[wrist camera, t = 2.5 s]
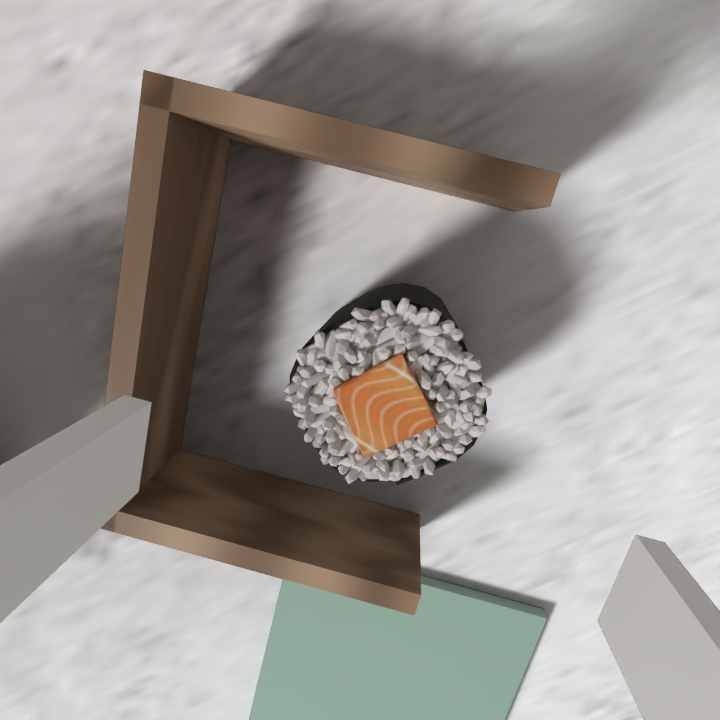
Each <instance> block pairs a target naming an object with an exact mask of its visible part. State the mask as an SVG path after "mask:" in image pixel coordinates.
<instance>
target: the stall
mask: <svg viewBox="0 0 720 720" xmlns="http://www.w3.org/2000/svg"><path fill="white" fill-rule="evenodd" d="M231 140H233V141H237V142H241V143H245V144H249V145H253V146H257V147H261V148H265V149H269V150H273V151H277V152H281V153H285V154H289V155H293V156H297V157H301V158H305V159H309V160H312V161H316V162H320V163H324V164H328V165H332V166H336V167H340V168H344V169H348V170H352V171H356V172H360V173H364V174H368V175H372V176H376V177H380V178H384V179H388V180H392V181H396V182H400V183H404V184H408V185H412V186H416V187H420V188H424V189H427V190H431V191H435V192H439V193H443V194H447V195H451V196H455V197H459V198H463V199H467V200H471V201H475V202H479V203H483V204H487V205H491V206H495V207H499V208H503V209H507V210H511V211H522V210H529V209H537V208H544V207H550V205H551V202H552V199H553V196H554V193H555V190H556V187H557V184H558V181H559V178H560V175H561V174H559V173H555V172H551V171H547V170H543V169H539V168H535V167H531V166H527V165H523V164H519V163H515V162H511V161H507V160H503V159H499V158H495V157H491V156H487V155H483V154H479V153H475V152H471V151H467V150H463V149H459V148H455V147H451V146H447V145H443V144H439V143H435V142H431V141H427V140H423V139H419V138H415V137H411V136H407V135H403V134H398V133H394V132H390V131H386V130H382V129H378V128H374V127H370V126H366V125H362V124H358V123H354V122H350V121H346V120H342V119H338V118H334V117H330V116H326V115H322V114H318V113H314V112H310V111H306V110H302V109H298V108H294V107H290V106H286V105H282V104H278V103H274V102H270V101H266V100H262V99H258V98H254V97H250V96H246V95H242V94H238V93H234V92H230V91H226V90H222V89H218V88H214V87H210V86H206V85H202V84H198V83H194V82H190V81H186V80H182V79H178V78H174V77H170V76H166V75H162V74H158V73H154V72H150V71H146V70H144V72H143V80H142V89H141V98H140V106H139V115H138V123H137V132H136V140H135V149H134V158H133V166H132V175H131V183H130V192H129V201H128V209H127V218H126V226H125V235H124V243H123V252H122V261H121V269H120V278H119V286H118V295H117V303H116V312H115V321H114V329H113V338H112V346H111V355H110V364H109V372H108V381H107V389H106V398H105V406H106V405H108V404H109V403H111V402H113V401H115V400H116V399H118V398H120V397H122V396H123V395H127V396H131V397H134V398H138V399H142V400H145V401H149V402H152V404H151V411H150V417H149V424H148V431H147V438H146V445H145V451H144V458H143V465H142V472H141V479H140V486H139V492H138V493H137V494H136V495H135V496H134V497H133V498H132V499H131V500H130V501H128V502H127V503H126V504H125V505H124V506H123V507H122V508H121V509H120V510H119V511H118V512H117V513H116V514H115V515H114V516H113V517H112V518H111V519H109V520H108V521H107V522H106V523H105V524H104V525H103V526H102V527H101V529H105V530H108V531H112V532H116V533H119V534H123V535H126V536H130V537H133V538H137V539H141V540H144V541H148V542H151V543H155V544H159V545H162V546H166V547H169V548H173V549H177V550H180V551H184V552H187V553H191V554H195V555H198V556H202V557H205V558H209V559H213V560H216V561H220V562H223V563H227V564H231V565H234V566H238V567H241V568H245V569H249V570H252V571H256V572H259V573H263V574H266V575H270V576H274V577H277V578H281V579H284V580H288V581H292V582H295V583H299V584H302V585H306V586H310V587H313V588H317V589H320V590H324V591H328V592H331V593H335V594H338V595H342V596H346V597H349V598H353V599H356V600H360V601H364V602H367V603H371V604H374V605H378V606H381V607H385V608H389V609H392V610H396V611H399V612H403V613H407V614H410V615H414V616H415V612H416V609H417V606H418V603H419V600H420V597H421V566H420V526H419V515H418V514H414V513H411V512H407V511H403V510H400V509H396V508H392V507H389V506H385V505H381V504H378V503H374V502H370V501H366V500H363V499H359V498H355V497H352V496H348V495H344V494H341V493H337V492H333V491H330V490H326V489H322V488H319V487H315V486H311V485H308V484H304V483H300V482H297V481H293V480H289V479H286V478H282V477H278V476H275V475H271V474H267V473H264V472H260V471H256V470H253V469H249V468H245V467H242V466H238V465H234V464H230V463H227V462H223V461H219V460H216V459H212V458H208V457H205V456H201V455H197V454H194V453H190V452H186V451H183V450H180V447H181V441H182V435H183V429H184V422H185V416H186V410H187V404H188V398H189V392H190V386H191V380H192V373H193V367H194V361H195V355H196V349H197V343H198V337H199V331H200V324H201V318H202V312H203V306H204V300H205V294H206V288H207V282H208V275H209V269H210V263H211V257H212V251H213V245H214V239H215V233H216V227H217V220H218V214H219V208H220V202H221V196H222V190H223V184H224V178H225V171H226V165H227V159H228V153H229V147H230V141H231Z"/></svg>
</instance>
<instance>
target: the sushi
mask: <svg viewBox="0 0 720 720" xmlns="http://www.w3.org/2000/svg"><path fill="white" fill-rule="evenodd" d="M462 338H463V331H462V330H460V329H458V326H457V325H456V323H455V321H454V320H453V318H452V317H451V315H450V313H449V312H448V310H447V308H446V307H445V305H444V304H443V302H442V300H441V299H440V298H439V297H437V296H436V295H435V294H433V293H432V292H430V291H429V290H427V289H426V288H425V287H420V286H415V285H410V284H405V283H400V284H394V285H387V286H385V287H382V288H379V289H377V290H374V291H372V292H369V293H367V294H366V295H364V296H362V297H360V298H359V299H357V300H355V301H353V302H352V303H350V304H348V305H347V306H345V307H343V308H341V309H340V310H338V311H336V312H335V314H334V315H333V316H332V317H331V318H330V319H329V320H328V321H327V322H326V323H325V324H324V325H323V326H322V327H321V328H320V329H319V330H318V331H317V332H316V333H315V335H314V336H313V337H312V338H311V339H310V340H309V341H308V342H307V343H306V344H305V346H304V347H303V348H302V349H300V350H298V351H297V352H296V354H295V357H296V358H297V359H296V361H295V364H294V366H293V369H292V371H291V374H290V384H288V385H287V387H286V388H285V389H284V390H283V391H285V392H286V393H288V394H286V397H285V401H288V402H291V403H292V407H293V408H294V409H293V412H294V415H295V416H298V418H299V423H298V427H299V428H301V429H303V430H305V431H306V434H305V435H304V441H305V442H311V441H312V444H313V447H315V448H317V450H318V451H319V454H320V455H321V461H322V463H323V465H326V464H329V465H330V466H332V467H333V468H334V469H336V470H337V471H338V472H340V474H345V475H346V476H345V478H346V480H347V482H348V484H350V483H352V482H353V481H355V480H356V479H357V480H362V481H371V482H379V481H396V484H397V485H398V484H401V483H404V482H406V481H409V480H412V479H414V478H415V479H418V478H419V477H420V476H422V475H424V474H428V475H433V472H434V470H435V469H437V468H439V467H442V466H444V465H446V464H448V463H450V462H452V461H456V460H457V459H458V458H459V457H460V456H462V455H463V454H464V453H465V452H466V451H467V450H469V449H470V448H471V447H472V446H473V445H474V444H475V442H476V440H477V438H478V437H480V436H482V435H483V434H485V433H486V429H485V426H483V425H486V424H487V423H488V419H487V417H486V412H487V406H486V397H488V396H490V395H491V389H490V388H488V387H486V386H482V383H481V381H483V380H482V373H481V372H478V371H477V370H479V369H480V368H482V365H481V362H480V360H479V359H473V358H472V357H473V354H471V353H470V352H468V351H467V349H466V346H465V344H464V341H463V339H462Z"/></svg>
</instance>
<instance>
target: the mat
mask: <svg viewBox="0 0 720 720" xmlns="http://www.w3.org/2000/svg"><path fill="white" fill-rule="evenodd" d="M546 620H547V617H546V614H545V611H544V609H542V608H538V607H535V606H531V605H527V604H524V603H520V602H516V601H513V600H509V599H506V598H502V597H498V596H495V595H491V594H487V593H484V592H480V591H476V590H473V589H469V588H466V587H462V586H458V585H455V584H451V583H447V582H444V581H440V580H437V579H433V578H429V577H426V576H422V575H421V597H420V600H419V603H418V606H417V609H416V612H415V616H414V615H410V614H407V613H403V612H399V611H396V610H392V609H389V608H385V607H381V606H378V605H374V604H371V603H367V602H364V601H360V600H356V599H353V598H349V597H346V596H342V595H338V594H335V593H331V592H328V591H324V590H320V589H317V588H313V587H310V586H306V585H302V584H299V583H295V582H292V581H288V580H284V579H283V580H282V584H281V589H280V593H279V597H278V601H277V605H276V609H275V613H274V618H273V622H272V626H271V630H270V634H269V638H268V642H267V647H266V651H265V655H264V659H263V663H262V667H261V672H260V676H259V680H258V684H257V688H256V692H255V696H254V701H253V705H252V709H251V713H250V717H249V720H505V718H506V716H507V713H508V711H509V709H510V706H511V704H512V701H513V699H514V697H515V694H516V692H517V689H518V687H519V685H520V682H521V680H522V677H523V675H524V673H525V670H526V668H527V665H528V663H529V661H530V658H531V656H532V653H533V651H534V649H535V646H536V644H537V641H538V639H539V637H540V634H541V632H542V629H543V627H544V625H545V622H546Z"/></svg>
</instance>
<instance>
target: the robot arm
mask: <svg viewBox="0 0 720 720" xmlns="http://www.w3.org/2000/svg"><path fill="white" fill-rule="evenodd" d="M151 404H152V402H149V401H145V400H142V399H138V398H134V397H131V396H127V395H123V396H122V397H120V398H118V399H116V400H115V401H113V402H111V403H109V404H108V405H106V406H104V407H102V408H100V409H99V410H97V411H95V412H93V413H92V414H90V415H88V416H86V417H85V418H83V419H81V420H79V421H78V422H76V423H74V424H72V425H71V426H69V427H67V428H65V429H63V430H62V431H60V432H58V433H56V434H55V435H53V436H51V437H49V438H48V439H46V440H44V441H42V442H41V443H39V444H37V445H35V446H33V447H32V448H30V449H28V450H26V451H25V452H23V453H21V454H19V455H18V456H16V457H14V458H12V459H11V460H9V461H7V462H5V463H4V464H2V465H0V623H1V622H2V621H3V620H4V619H5V618H6V617H7V616H8V615H9V614H10V613H11V612H12V611H13V610H14V609H16V608H17V607H18V606H19V605H20V604H21V603H22V602H23V601H24V600H25V599H26V598H27V597H28V596H29V595H30V594H31V593H32V592H33V591H35V590H36V589H37V588H38V587H39V586H40V585H41V584H42V583H43V582H44V581H45V580H46V579H47V578H48V577H49V576H50V575H51V574H52V573H54V572H55V571H56V570H57V569H58V568H59V567H60V566H61V565H62V564H63V563H64V562H65V561H66V560H67V559H68V558H69V557H70V556H71V555H73V554H74V553H75V552H76V551H77V550H78V549H79V548H80V547H81V546H82V545H83V544H84V543H85V542H86V541H87V540H88V539H89V538H90V537H92V536H93V535H94V534H95V533H96V532H97V531H98V530H99V529H100V528H101V527H102V526H103V525H104V524H105V523H106V522H107V521H108V520H109V519H111V518H112V517H113V516H114V515H115V514H116V513H117V512H118V511H119V510H120V509H121V508H122V507H123V506H124V505H125V504H126V503H127V502H128V501H130V500H131V499H132V498H133V497H134V496H135V495H136V494H137V493H138V492H139V486H140V479H141V472H142V465H143V458H144V451H145V445H146V438H147V431H148V424H149V417H150V411H151ZM597 621H598V623H599V625H600V627H601V629H602V632H603V634H604V636H605V638H606V640H607V642H608V644H609V647H610V649H611V651H612V653H613V655H614V657H615V659H616V661H617V664H618V666H619V668H620V670H621V672H622V674H623V676H624V679H625V681H626V683H627V685H628V687H629V689H630V691H631V694H632V696H633V698H634V700H635V702H636V704H637V706H638V709H639V711H640V713H641V715H642V717H643V719H644V720H720V611H719V609H718V608H717V607H716V606H715V604H714V603H713V602H712V601H711V599H710V598H709V597H708V596H707V594H706V593H705V592H704V591H703V589H702V588H701V587H700V586H699V584H698V583H697V582H696V581H695V579H694V578H693V577H692V576H691V574H690V573H689V572H688V571H687V569H686V568H685V567H684V566H683V564H682V563H681V562H680V561H679V559H678V558H677V557H676V556H675V554H674V553H673V552H672V551H671V549H670V548H669V547H668V546H667V544H666V543H665V542H661V541H658V540H654V539H650V538H647V537H643V536H639V535H635V537H634V539H633V541H632V544H631V546H630V548H629V550H628V553H627V555H626V557H625V559H624V562H623V564H622V566H621V568H620V571H619V573H618V575H617V577H616V580H615V582H614V584H613V587H612V589H611V591H610V593H609V596H608V598H607V600H606V602H605V605H604V607H603V609H602V611H601V614H600V616H599V618H598V620H597Z"/></svg>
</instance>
